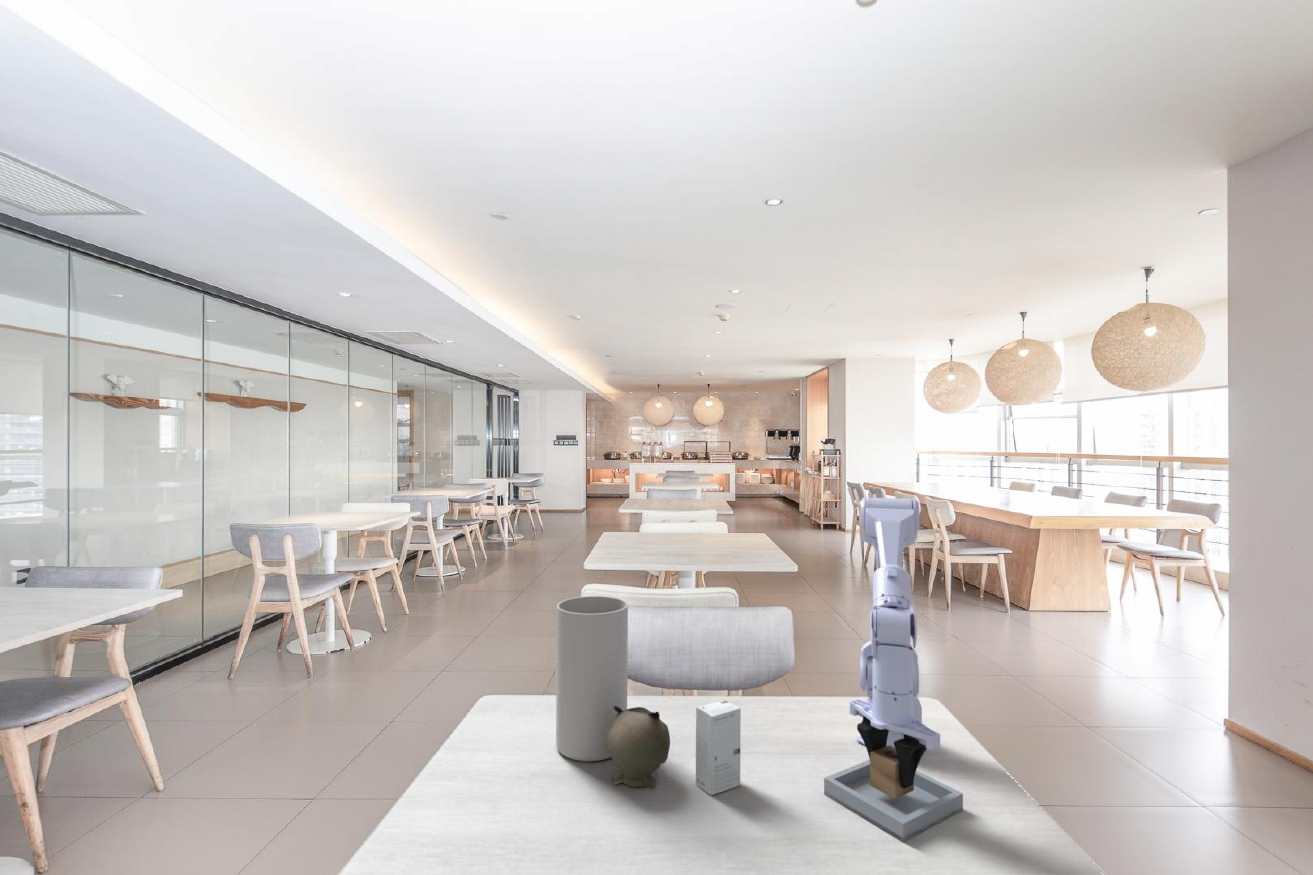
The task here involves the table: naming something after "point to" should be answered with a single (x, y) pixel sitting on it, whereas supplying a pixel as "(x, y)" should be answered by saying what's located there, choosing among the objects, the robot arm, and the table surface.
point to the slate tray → (894, 801)
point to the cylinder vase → (590, 673)
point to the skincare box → (718, 747)
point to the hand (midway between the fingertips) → (892, 777)
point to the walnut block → (887, 772)
